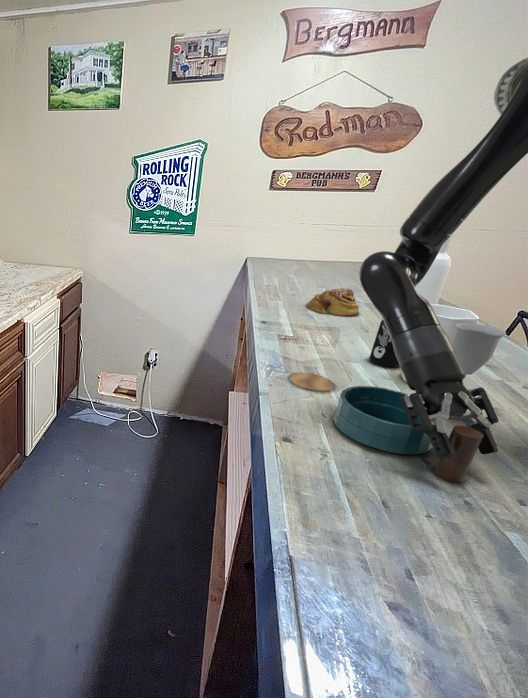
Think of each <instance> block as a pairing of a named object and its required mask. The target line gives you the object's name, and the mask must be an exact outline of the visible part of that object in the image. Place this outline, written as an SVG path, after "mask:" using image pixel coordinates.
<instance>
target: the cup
mask: <svg viewBox="0 0 528 698" xmlns="http://www.w3.org/2000/svg"><path fill="white" fill-rule="evenodd" d="M430 305H431V306H432V308H433V310H434V312H435V315H436V317H437V319H438V321H439V323H440V326H441V327H442V329H443V331H444V332H445V333H446V335H447V336H448V338H449V340H450V342H451V344H452V342H453V340H454V337H455V335H456V332H457V329H456V324H459V323H471V324H478V322H479V320H480V317H479V316H478V315H477V314H476V313H475V312H474V311H472V310H469V309H464V308H459V307H455V306H450V305H445V304H439V303H438V304H430ZM401 378H402V379H403V381H404V382H406V383H407V381H406V379H405V377H404V374H403V372H402V371H401Z"/></svg>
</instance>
